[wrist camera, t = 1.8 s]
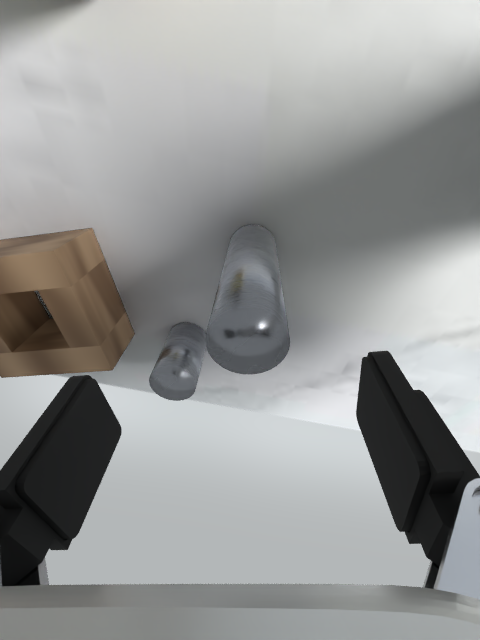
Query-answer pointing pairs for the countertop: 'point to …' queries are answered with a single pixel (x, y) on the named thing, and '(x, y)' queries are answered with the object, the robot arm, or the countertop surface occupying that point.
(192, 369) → the short pin
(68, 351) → the hole block
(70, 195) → the countertop surface
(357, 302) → the countertop surface
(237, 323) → the long pin
